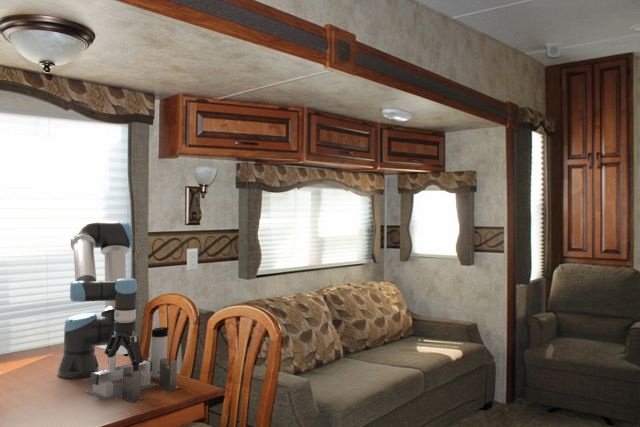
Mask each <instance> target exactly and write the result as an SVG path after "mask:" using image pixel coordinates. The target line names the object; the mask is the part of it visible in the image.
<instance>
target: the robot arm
mask: <svg viewBox="0 0 640 427" xmlns="http://www.w3.org/2000/svg"><path fill="white" fill-rule="evenodd" d="M133 239H134V238H133V230H132V227H131V225H130V224H129V223H128V222H126V221H120V220H118V221H113V220H112V221H110V220H109V221H107V220H106V221H104V220H101V221H100V220H90V221H87V222H85V223H82V224H81V225H79V226H78V227H77V228H76V229H75V230H74V232H73V233H72V235H71V237H70V248H71V250H72V251H73V259H74V260H73V262H74V280H75V281H72V282H70V284H69V285H70V286H69V298H70V301H71V302H72V303H73V302H74V303H75V302H77V303H79V302H81V303H85V302H104V309H103V310H102V311H101V312H100V316H98V315H97V313H95V312H83V313H78V314H75V315H72V316H69V317H67V318H66V319H65V320H64V328H63V332H64V335H63V353H62V357H61V360H60V363H59V365H58V368H57V376H58V377H60V378H64V379H82V378H89V377H91V373H92V372H93V373H94V372H98V371H100V365H99V362H98V359H97V355H96V347H98V346H99V347H101V346H106V347H105V349H104V350H105V351H104V354H105V355H106V356H107V358H108V359H107V360H108V361H107V364H108V366H107V368H108V369H111V368H115V367H117V353H118V351H119V350H120V348H121V347H124V349H126V351H127V354H128V357H129V359H130V361H131V363H130V364H131V367H132V371H136V370H138V369H139V363H143V361H144V359H143V355H142V351H141V346H140V343H139V336H138V335H135V336H134V333H135V332H134V331H135V330H136V319H137V292H138V284H137V279H135V278H132V277H131V278H130V277H129V278H128V277H127V266H126V265H127V264H126V263H127V261H126V257H127V256H126V255H127V254H128V253H129V251H130V249H131V248H132V247H133V243H134V241H133ZM95 248H96V249H97V248H98V249H100V253H101V255H104V280H97V271H96V263H95V262H96V261H95V252H94V251H95Z"/></svg>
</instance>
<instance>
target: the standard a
mask: <svg viewBox="0 0 640 427" xmlns="http://www.w3.org/2000/svg"><path fill="white" fill-rule="evenodd" d="M122 382H123V387H122V395H120V396H118V397H117V398H118V399H119V400H120V399H121V400H122V401H125V402H127V403H131V404H134V403H137V402H142V401H144V400H145V397H143V396H141V390H140V386H141V370H136V371H132V367H131V366H130V367H126V368H123V378H122Z"/></svg>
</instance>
